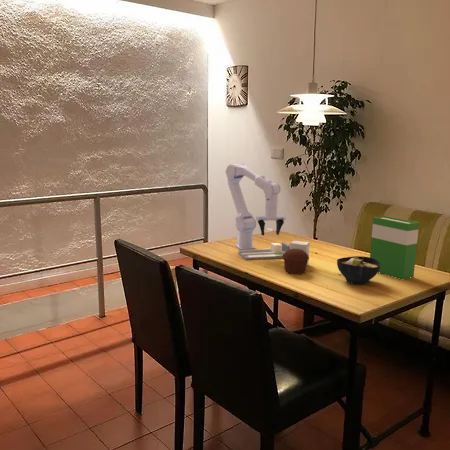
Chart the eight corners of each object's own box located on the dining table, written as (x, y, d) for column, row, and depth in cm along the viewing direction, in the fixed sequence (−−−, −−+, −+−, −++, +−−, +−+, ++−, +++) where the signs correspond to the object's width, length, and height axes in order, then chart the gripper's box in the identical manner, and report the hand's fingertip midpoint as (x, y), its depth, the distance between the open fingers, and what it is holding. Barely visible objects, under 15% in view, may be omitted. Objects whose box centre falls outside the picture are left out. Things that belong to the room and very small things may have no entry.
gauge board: (238, 253, 238) (238, 243, 237) (283, 251, 244) (284, 242, 243) (245, 259, 226) (245, 249, 225) (292, 257, 232) (293, 247, 231)
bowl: (386, 282, 197) (388, 259, 195) (364, 291, 185) (366, 266, 183) (349, 273, 209) (351, 250, 207) (327, 280, 197) (329, 257, 195)
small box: (308, 264, 221) (309, 242, 219) (305, 267, 216) (306, 244, 214) (291, 262, 224) (293, 240, 222) (288, 265, 219) (289, 242, 217)
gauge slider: (270, 250, 240) (271, 242, 239) (278, 250, 241) (278, 242, 240) (276, 254, 232) (276, 246, 231) (283, 254, 233) (284, 246, 232)
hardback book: (368, 269, 215) (373, 217, 210) (379, 267, 219) (384, 215, 214) (402, 280, 201) (408, 224, 196) (413, 277, 205) (419, 222, 200)
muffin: (307, 268, 214) (308, 247, 212) (309, 276, 203) (310, 253, 202) (280, 267, 215) (281, 245, 213) (281, 274, 204) (282, 252, 202)
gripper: (259, 209, 229) (258, 236, 231) (288, 208, 232) (286, 236, 235) (255, 206, 235) (254, 233, 238) (283, 206, 239) (281, 233, 241)
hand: (270, 234), depth 237 cm, fingers open, 7 cm apart
